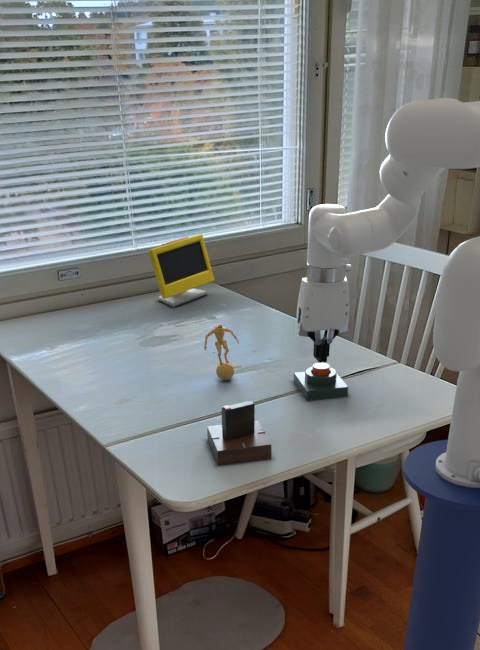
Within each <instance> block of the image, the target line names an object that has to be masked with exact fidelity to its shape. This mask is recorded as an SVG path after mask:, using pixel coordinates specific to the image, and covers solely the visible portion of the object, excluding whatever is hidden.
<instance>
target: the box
mask: <svg viewBox="0 0 480 650" xmlns="http://www.w3.org/2000/svg"><path fill="white" fill-rule="evenodd" d="M312 371H313V365H312V366H310V367H308V368H306V370H305V371H296V372H293V384H294V385H295V386H296V388H297V389H298V390H299V392H300V394H301V395H302V396H303V398H304V399H305V401H306V402H311V401H318V400H328V399H337V398H346V397H348V396H349V394H348V393H349V386H348V384H347V383H346V382H345V381H344V380H343V378H342V377H341V376H340V375H339V374H338V372H337V370H336V368H333V367H331V366H330V371H329V374H328V375H325V376H318V375H314V374H313V373H312Z"/></svg>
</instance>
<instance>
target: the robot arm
mask: <svg viewBox="0 0 480 650" xmlns="http://www.w3.org/2000/svg"><path fill="white" fill-rule="evenodd" d="M384 136H385V137H384V140H385V148H386V150H387V152H388V155H387V157H386V158H385V159H384V161H382V163H381V165H380V168H379V179H380V183H381V184H382V187H383V189H384V190H385V191H386V193H388V194H387V195H386V196H385V197H384V199H383V200H382V201H381V202H380V203H379V204H378V205H377V206H376V207H372V208H368V209H362V210H358V211H353V212H349V211H348V209H347V208H346V207H345V206H343V205H340V204H334V203H323V204H317V205H315V206H313V207H312V208H311V209H310V211H309V215H308V227H307V228H308V233H307V255H306V277H305V276H304V277H302V279H301V282H300V286H299V293H298V298H297V308H296V323H297V325H298V326H297V329H296V333H297V335H298V336H300V337H305V338H309V339H310V340H311V341H312V342H313V351H312V352H313V353H312V355H313V358H314V359H315V360H316V361H317V363H328V358H329V357H330V351H331V344H332V343H333V340H334V339H335V338H337V336H338V335H340V334H343V333H346V332H348V330H349V326H348V325H349V321H350V290H349V282H348V278H347V273H350V272H351V273H352V271H353V265H352V264H347V263H346V261H347V259H350V258H354V257H357V256H361V255H365V254H369V253H373V252H376V251H382V250H384V249H387V248H388V247H390V246H391V245H393V244H394V243H395V242H396V241H397V240H399V239H400V238H401V237H402V235H403V234H405V232H406V231H407V230H408V229H409V228H410V227H411V226H412V225H413V223H414V222H415V220H416V219H417V217H418V214H419V211H420V208H421V202H422V196H423V194H424V193H425V192H426V191H427V190H428V189H429V188H430V186H431V185H432V184H433V183H434V182H435V181H436V179H438V177H439V176H440V175H442V173H443V172H444V171H445V170H446V169H452V170H465V169H466V170H467V169H469V170H470V169H477V168H480V100H475V101H466V102H463V101H461V100H459V99H456V98H452V97H440V98H439V97H438V98H431V99H423V100H422V99H421V100H415V101H410V102H408V103H407V102H406V103H405V104H403V105H402V106H400V107H399V108H398V109H397V110H396V111H395V112H394V113H393V114H392V115H391V118H390V120H389V121H388V123H387V126H386V129H385V135H384ZM435 309H436V310H435V316H434V317H435V318H434V323H433V331H432V347H433V351H434V354H435V356H436V358H437V360H438V362H439V363H440V364H441V366H443V367H444V368H445V369H447V370H449V371H452V372H459V373H458V377H457V381H456V388H455V392H454V399H453V406H452V413H451V419H450V425H449V432H448V437H447V440H448V444H447V450H446V452H445V453H443V454H441V455H440V456H439V457H438V458H437V460H436V465H435V468H436V471H437V473H438V474H439V475H440V476H441V477H442V478H444V479H445V480H447V481H449V482H451V483H453V484H456V485H459V486H464V487H470V488H480V235H479V236H476V237H472V238H470V239H467V240H464V241H463V242H461V243H459V244H458V245H457V246H456V247H455V248H454V249H453V250H452V251H451V252H450V254H449V256H448V257H447V260H446V261H445V264H444V266H443V270H442V274H441V280H440V284H439V292H438V297H437V304H436V308H435ZM321 331H323V333H321ZM321 334H322V335H321Z"/></svg>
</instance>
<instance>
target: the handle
mask: <svg viewBox="0 0 480 650" xmlns="http://www.w3.org/2000/svg"><path fill="white" fill-rule="evenodd" d="M255 405H256V404H255V402H253V401H252V400H247V401H243V402H239V403H234V404H231V405H228V404H227V405H223V406H221V425H222V437H223V438H224V439H225V440H229V439H233V438H237V437H241V436H245V435H248V434H252V433H255V421H256V420H255V419H256V417H255V413H256V411H255Z"/></svg>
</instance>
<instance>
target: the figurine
mask: <svg viewBox="0 0 480 650" xmlns="http://www.w3.org/2000/svg"><path fill="white" fill-rule="evenodd" d="M225 333H230V334H231V335H232V337H233V339H235V340H236V343H237V344H238V345H240V341H239V339H238V338H237V335H236V334H235V333H234V332H233V330H231V329H230V328H226V327H224V326H223V325H222V324H216V325H214V327H213V329H211V330H210V331H209V332H208V333H207V334H205V338H204V346H203V349H204V351H205V352H206V351H207V350H208V346H207V343H208V338H209V337H210V336H212V335H213V334H214V337H215V338H216V339H215V340H216V341H215V342H214V346H215V347H216V351H217V352H218V353H217V357H218V361H219V364H218V365H217V367H216V370H215V371H216V372H215V373H216V376H217V378H218V379H220V380H222V381H229V380H231V379H232V378H233V377H234V375H235V368H234V365H233V364H232V363H231V362H230V361H229V360H228V357H227V355H228V354H229V351H230V349H229V347H228V343H227V340H226V339H224V337H225ZM222 349H224V352H223V356H224V357H223V358H224V360H225V361H223V359H222V357H221V356H222Z"/></svg>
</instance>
